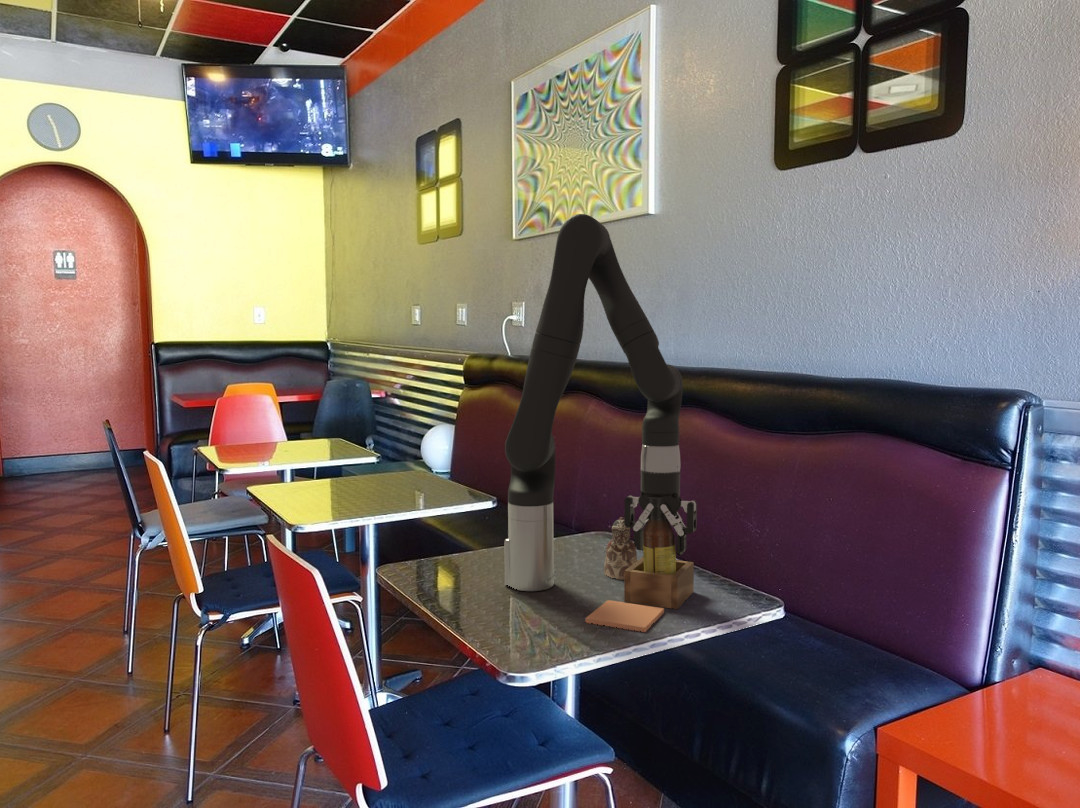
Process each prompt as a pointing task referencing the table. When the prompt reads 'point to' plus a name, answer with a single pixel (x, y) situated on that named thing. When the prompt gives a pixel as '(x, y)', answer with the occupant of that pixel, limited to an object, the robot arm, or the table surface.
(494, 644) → the table surface
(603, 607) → the terracotta mat
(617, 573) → the figurine
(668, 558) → the sauce bottle
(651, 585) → the square holder
